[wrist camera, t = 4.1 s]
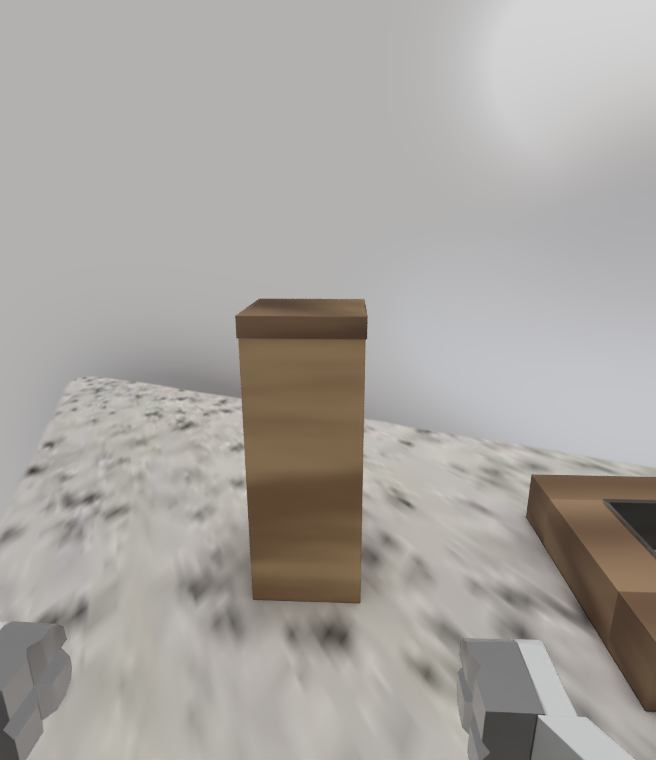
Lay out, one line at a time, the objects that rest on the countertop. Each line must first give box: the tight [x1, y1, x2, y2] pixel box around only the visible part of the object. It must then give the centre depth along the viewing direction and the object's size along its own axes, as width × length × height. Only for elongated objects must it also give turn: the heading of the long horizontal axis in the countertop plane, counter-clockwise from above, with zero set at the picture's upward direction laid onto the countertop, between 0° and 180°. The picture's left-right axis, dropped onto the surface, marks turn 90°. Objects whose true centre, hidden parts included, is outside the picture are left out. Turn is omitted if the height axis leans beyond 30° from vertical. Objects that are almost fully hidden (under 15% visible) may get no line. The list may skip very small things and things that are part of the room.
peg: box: [235, 299, 367, 603], centre depth 21 cm, size 5×5×12 cm
